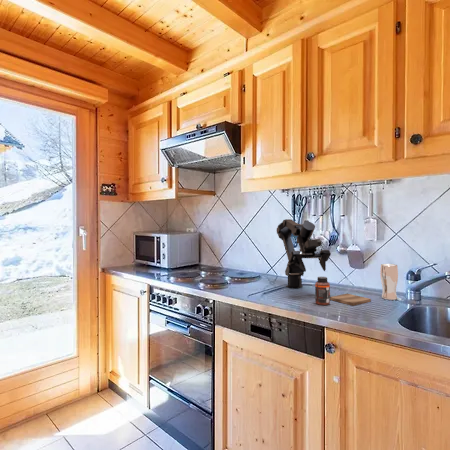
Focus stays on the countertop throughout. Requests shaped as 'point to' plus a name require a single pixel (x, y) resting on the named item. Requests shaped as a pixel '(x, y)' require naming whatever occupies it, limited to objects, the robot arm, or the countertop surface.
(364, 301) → the walnut board
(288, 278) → the robot arm
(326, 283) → the supplement bottle
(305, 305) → the countertop surface
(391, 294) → the beer glass
